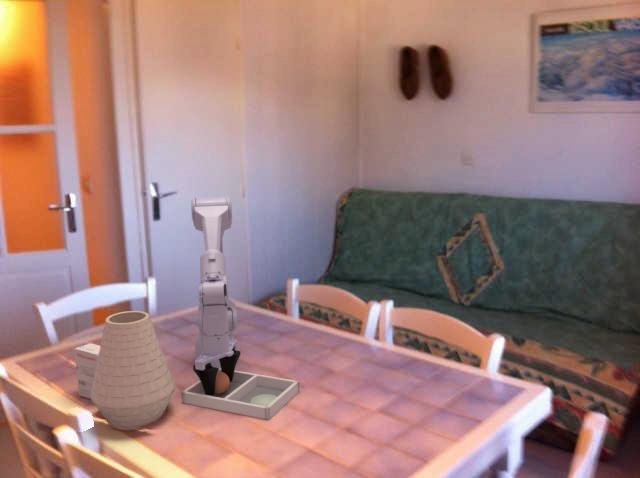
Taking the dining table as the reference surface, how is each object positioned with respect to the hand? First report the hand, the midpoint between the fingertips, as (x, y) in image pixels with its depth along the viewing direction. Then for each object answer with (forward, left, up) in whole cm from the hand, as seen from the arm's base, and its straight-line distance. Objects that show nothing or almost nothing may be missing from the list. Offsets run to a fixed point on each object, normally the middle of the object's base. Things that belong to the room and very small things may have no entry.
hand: (219, 387), depth 150 cm
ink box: (-27, -10, -2) cm, 29 cm away
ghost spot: (+12, 0, -1) cm, 12 cm away
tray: (+6, 0, -2) cm, 6 cm away
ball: (0, 0, -1) cm, 1 cm away
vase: (-11, -16, -2) cm, 20 cm away
